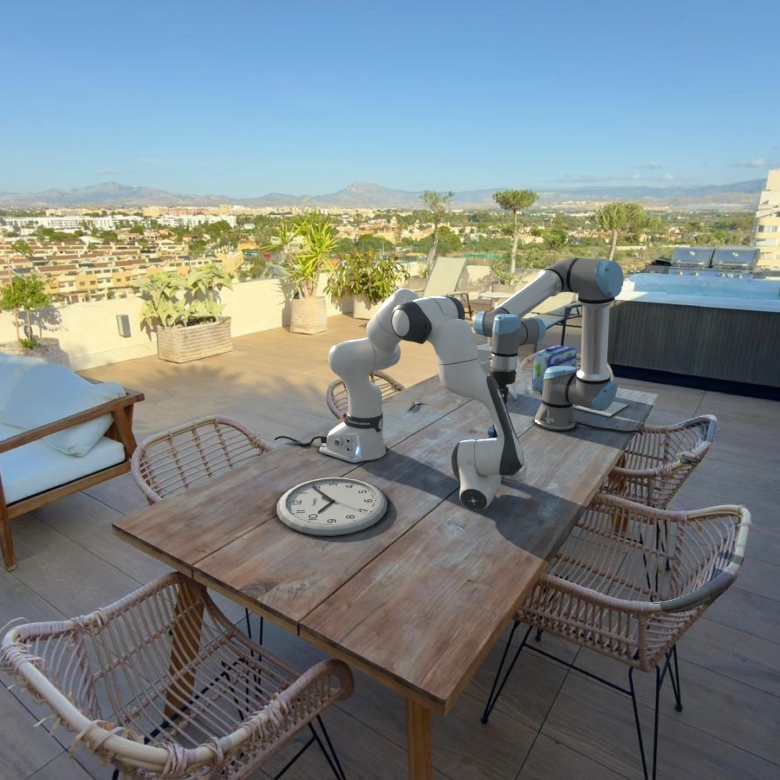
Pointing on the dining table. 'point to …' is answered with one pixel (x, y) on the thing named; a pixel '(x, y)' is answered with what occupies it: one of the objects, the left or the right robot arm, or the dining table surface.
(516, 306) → the right robot arm
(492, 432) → the lid
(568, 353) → the lunch box
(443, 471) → the dining table surface
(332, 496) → the wall clock
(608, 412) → the invitation card
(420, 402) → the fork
